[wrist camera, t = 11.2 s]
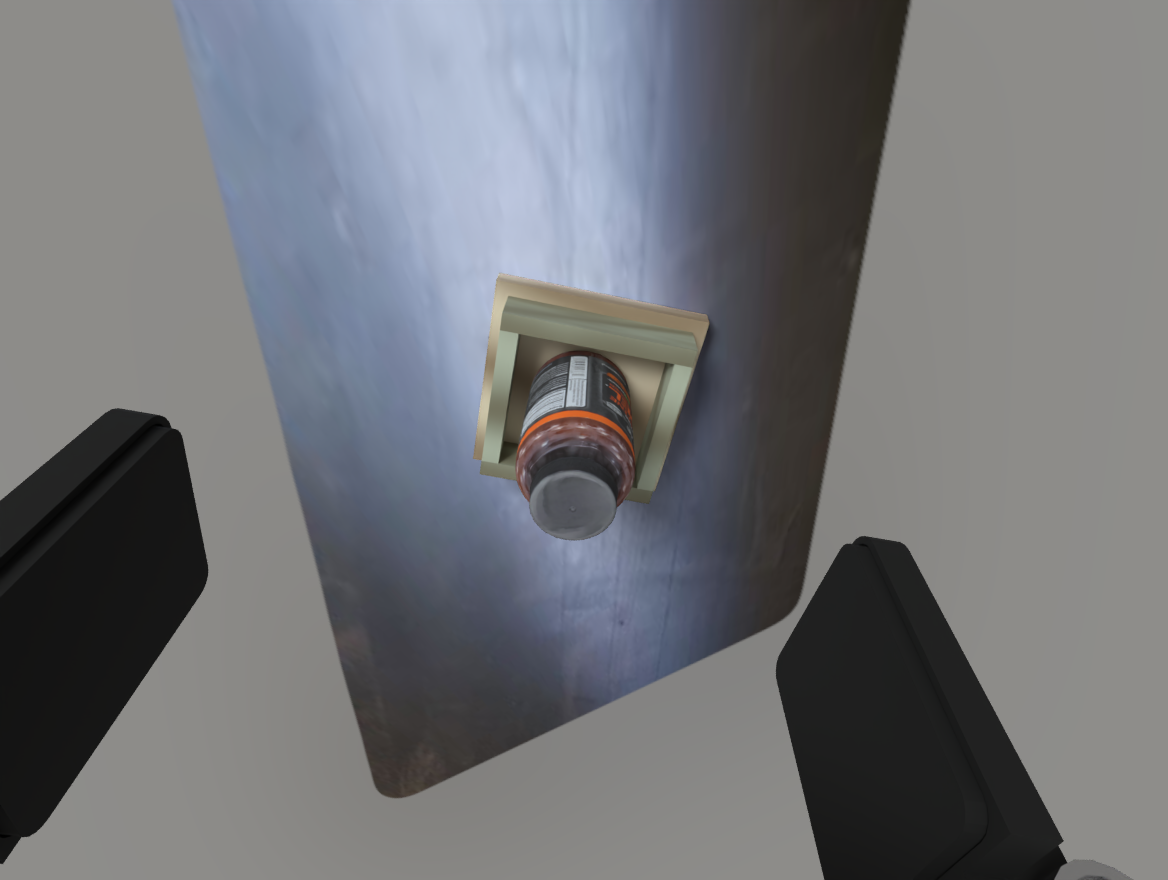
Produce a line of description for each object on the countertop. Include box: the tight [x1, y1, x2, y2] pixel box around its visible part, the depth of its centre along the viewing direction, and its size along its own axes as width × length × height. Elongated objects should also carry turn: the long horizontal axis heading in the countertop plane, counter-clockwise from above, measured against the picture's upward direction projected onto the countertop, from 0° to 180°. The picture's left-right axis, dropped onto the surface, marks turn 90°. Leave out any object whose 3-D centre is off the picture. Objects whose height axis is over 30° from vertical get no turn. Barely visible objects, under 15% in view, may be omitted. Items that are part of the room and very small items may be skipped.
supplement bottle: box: [515, 351, 635, 540], centre depth 34 cm, size 6×6×11 cm
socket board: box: [473, 273, 709, 504], centre depth 38 cm, size 12×12×4 cm
